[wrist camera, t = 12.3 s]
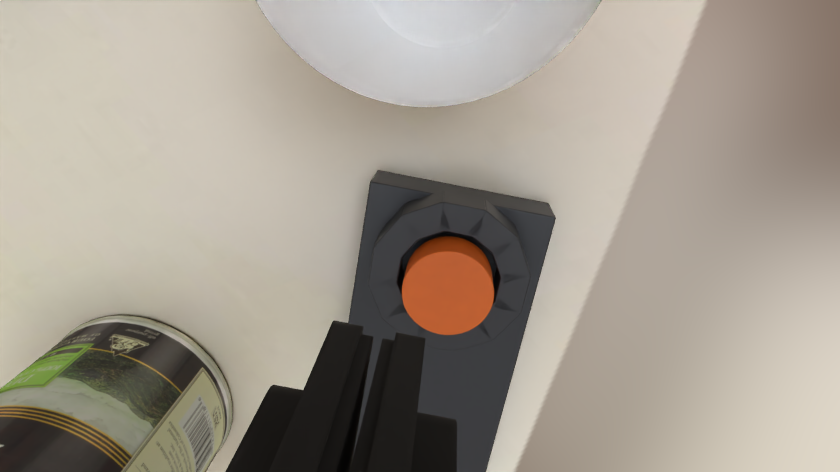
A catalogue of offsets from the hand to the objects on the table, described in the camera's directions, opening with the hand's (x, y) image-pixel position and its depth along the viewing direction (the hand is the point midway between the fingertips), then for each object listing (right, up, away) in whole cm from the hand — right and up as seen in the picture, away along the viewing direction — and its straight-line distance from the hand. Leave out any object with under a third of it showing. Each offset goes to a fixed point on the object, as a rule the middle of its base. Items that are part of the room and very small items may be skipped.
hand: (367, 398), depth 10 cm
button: (+2, +1, +14) cm, 14 cm away
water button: (+2, -2, +19) cm, 19 cm away
